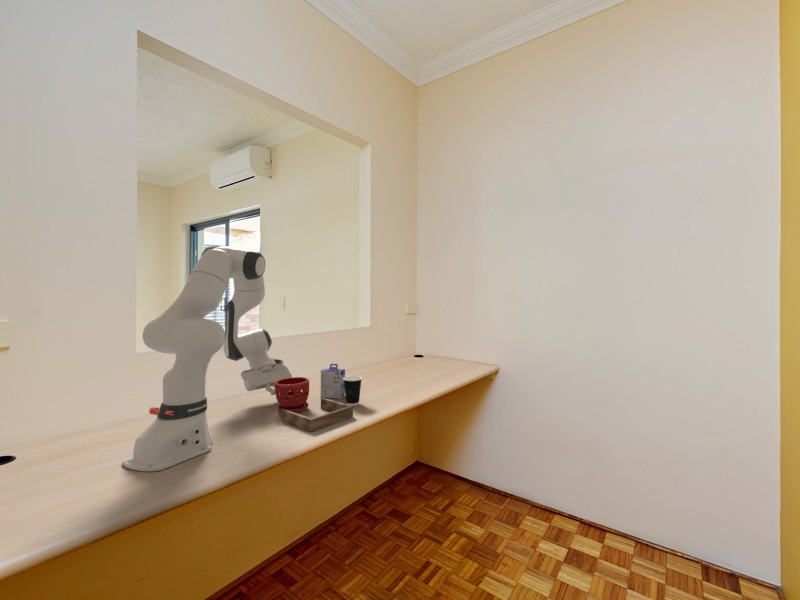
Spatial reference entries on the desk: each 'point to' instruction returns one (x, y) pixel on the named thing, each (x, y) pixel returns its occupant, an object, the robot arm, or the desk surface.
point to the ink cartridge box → (332, 382)
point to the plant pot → (292, 393)
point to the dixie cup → (352, 389)
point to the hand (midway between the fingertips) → (275, 393)
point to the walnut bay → (312, 424)
